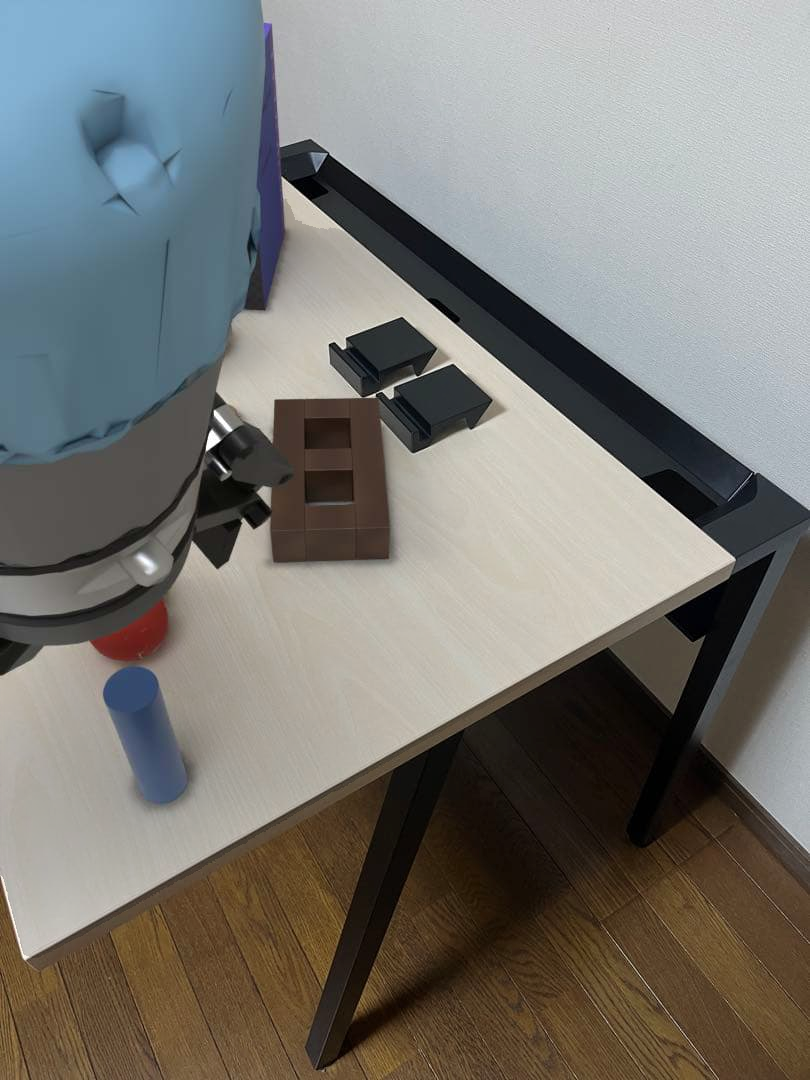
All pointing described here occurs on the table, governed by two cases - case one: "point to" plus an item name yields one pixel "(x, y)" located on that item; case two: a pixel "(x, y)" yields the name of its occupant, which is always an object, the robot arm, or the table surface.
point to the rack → (330, 481)
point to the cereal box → (268, 189)
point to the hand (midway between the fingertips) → (92, 630)
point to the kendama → (136, 636)
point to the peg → (146, 733)
